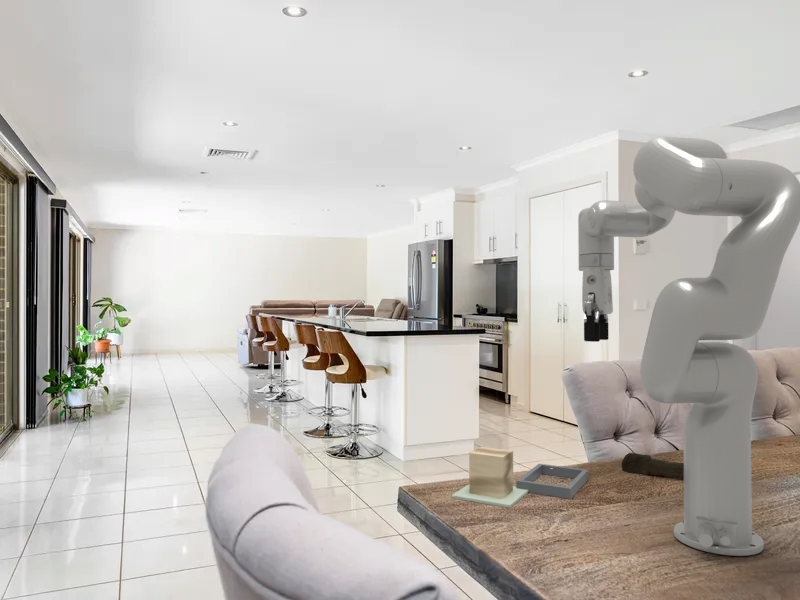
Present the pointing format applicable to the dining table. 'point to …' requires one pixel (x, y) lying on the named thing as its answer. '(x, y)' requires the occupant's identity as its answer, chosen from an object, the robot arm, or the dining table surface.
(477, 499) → the pad
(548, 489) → the gray rectangular frame
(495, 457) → the block
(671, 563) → the dining table surface
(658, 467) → the hand tool
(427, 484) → the dining table surface
